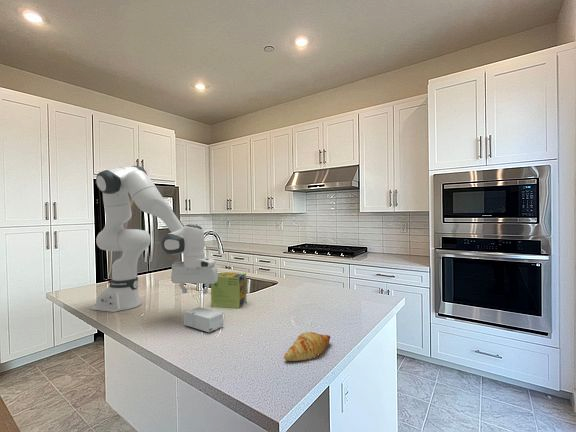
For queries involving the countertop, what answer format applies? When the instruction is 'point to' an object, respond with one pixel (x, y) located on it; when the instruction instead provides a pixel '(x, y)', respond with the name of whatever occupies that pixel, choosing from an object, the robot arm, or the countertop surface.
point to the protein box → (229, 290)
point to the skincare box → (203, 319)
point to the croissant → (307, 346)
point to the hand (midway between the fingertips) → (194, 293)
